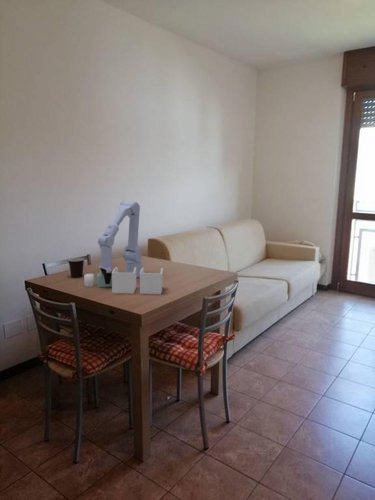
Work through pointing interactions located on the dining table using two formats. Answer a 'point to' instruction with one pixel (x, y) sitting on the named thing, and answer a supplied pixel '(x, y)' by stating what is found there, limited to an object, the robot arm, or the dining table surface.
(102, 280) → the green tapered block
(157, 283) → the storage container
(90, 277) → the white domed capsule
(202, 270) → the dining table surface
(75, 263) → the coffee mug
